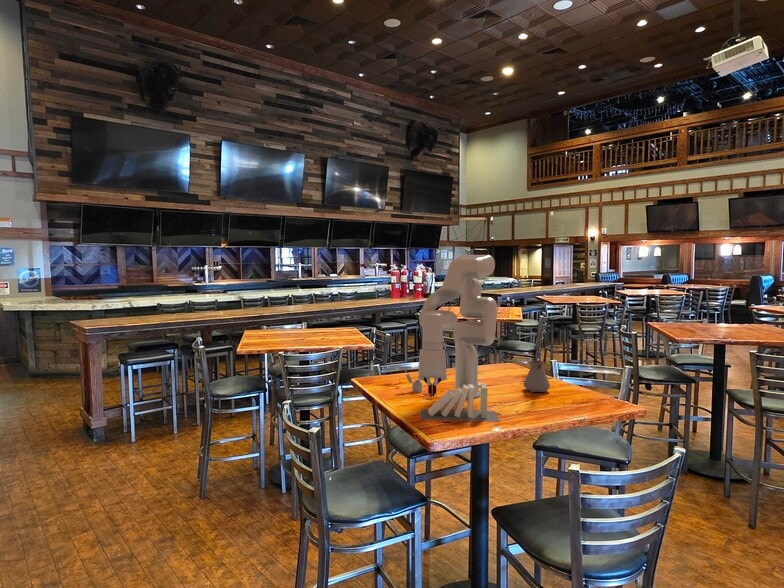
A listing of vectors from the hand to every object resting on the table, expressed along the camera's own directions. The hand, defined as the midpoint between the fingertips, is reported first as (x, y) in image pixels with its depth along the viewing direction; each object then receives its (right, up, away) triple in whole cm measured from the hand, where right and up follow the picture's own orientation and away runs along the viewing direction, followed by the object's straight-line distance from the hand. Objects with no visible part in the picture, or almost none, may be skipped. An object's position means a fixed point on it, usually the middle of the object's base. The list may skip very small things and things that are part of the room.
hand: (432, 395), depth 175 cm
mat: (+10, -8, 0) cm, 12 cm away
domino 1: (-1, -7, 0) cm, 7 cm away
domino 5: (+19, -7, -1) cm, 20 cm away
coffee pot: (+49, -6, +32) cm, 58 cm away
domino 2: (+4, -7, 0) cm, 8 cm away
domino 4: (+14, -7, -1) cm, 16 cm away
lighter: (-5, -6, +34) cm, 35 cm away
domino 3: (+9, -7, 0) cm, 11 cm away
